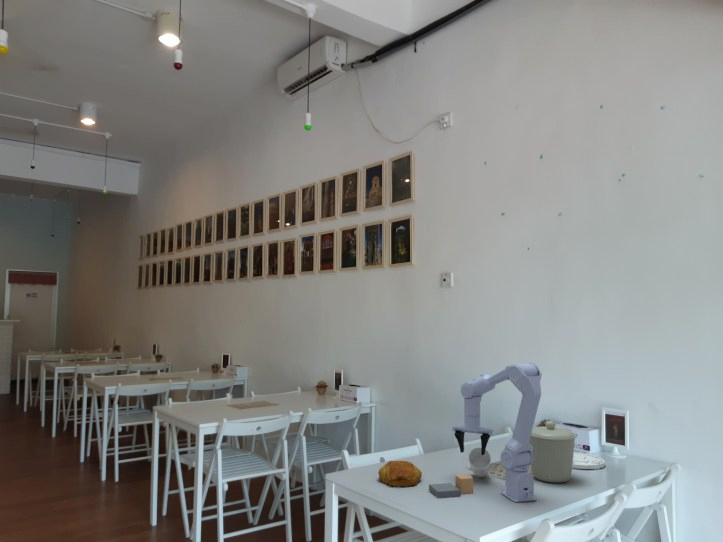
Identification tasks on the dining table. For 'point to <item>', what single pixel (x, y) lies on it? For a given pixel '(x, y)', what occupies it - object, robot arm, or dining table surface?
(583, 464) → the embossed medallion
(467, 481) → the tan rectangular block
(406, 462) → the croissant
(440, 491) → the slate coaster
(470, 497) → the dining table surface
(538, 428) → the canister
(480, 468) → the white cup
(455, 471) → the dining table surface
